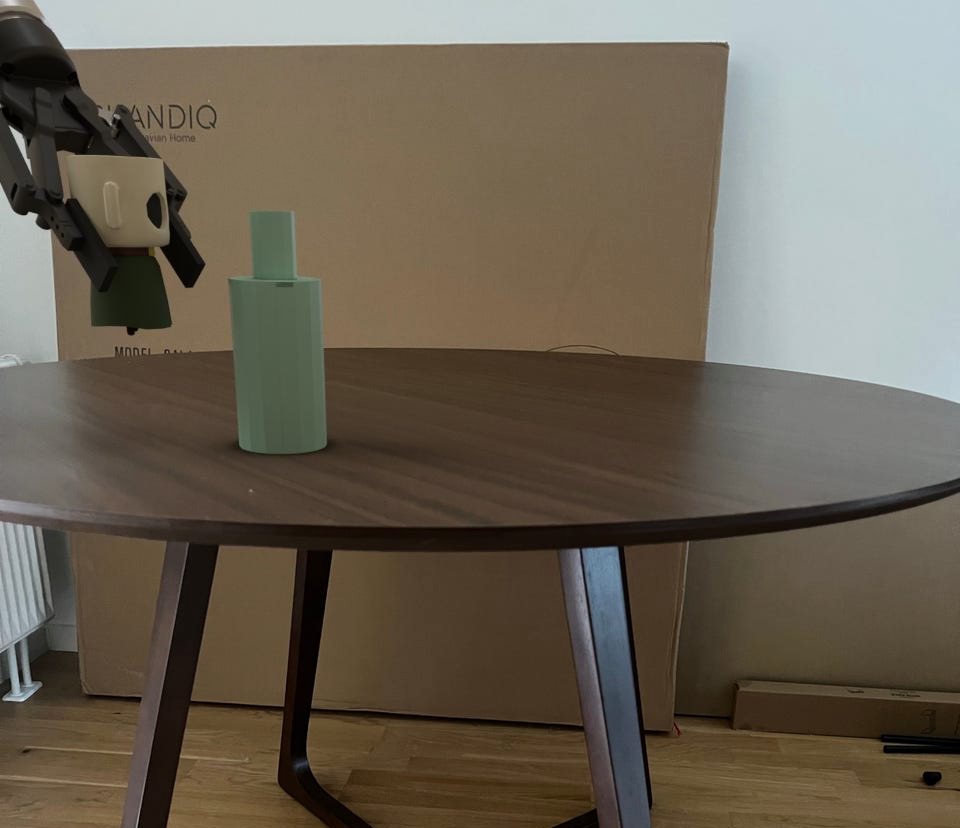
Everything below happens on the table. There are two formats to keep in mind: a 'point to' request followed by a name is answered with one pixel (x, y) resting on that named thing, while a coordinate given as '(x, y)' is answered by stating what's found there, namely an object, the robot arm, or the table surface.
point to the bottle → (278, 344)
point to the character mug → (126, 235)
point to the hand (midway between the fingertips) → (153, 277)
